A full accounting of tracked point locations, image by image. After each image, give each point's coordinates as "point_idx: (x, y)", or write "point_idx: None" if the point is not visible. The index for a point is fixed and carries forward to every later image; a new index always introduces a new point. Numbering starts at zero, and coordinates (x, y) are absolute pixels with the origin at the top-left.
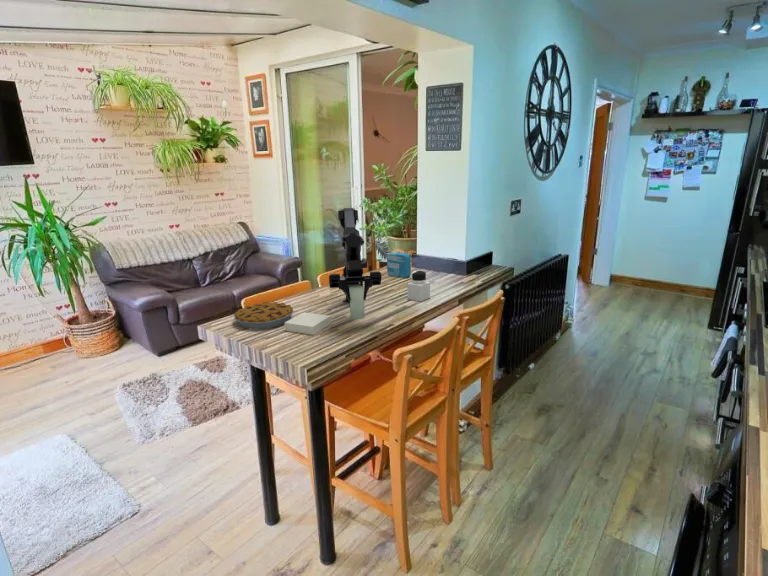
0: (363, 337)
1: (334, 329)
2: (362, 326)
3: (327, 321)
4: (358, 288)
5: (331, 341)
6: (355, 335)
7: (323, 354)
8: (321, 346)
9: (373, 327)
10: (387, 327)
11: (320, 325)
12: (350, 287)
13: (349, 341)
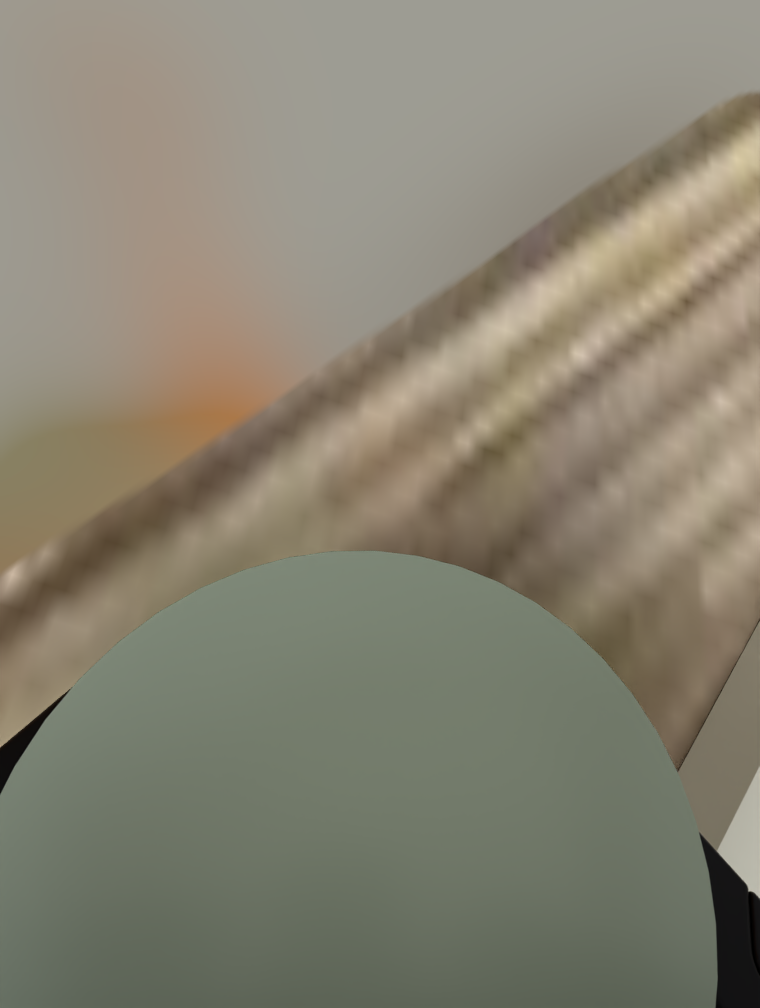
0: (325, 419)
1: None
2: None
3: None
4: (296, 674)
5: (605, 420)
6: (388, 488)
7: (663, 214)
8: (681, 349)
9: None
10: (12, 605)
11: (739, 737)
12: (660, 988)
13: (459, 373)
